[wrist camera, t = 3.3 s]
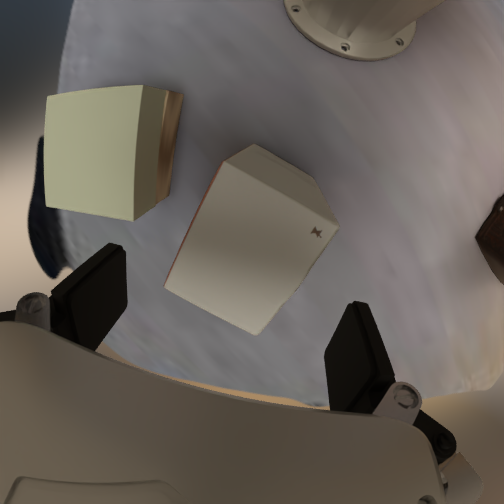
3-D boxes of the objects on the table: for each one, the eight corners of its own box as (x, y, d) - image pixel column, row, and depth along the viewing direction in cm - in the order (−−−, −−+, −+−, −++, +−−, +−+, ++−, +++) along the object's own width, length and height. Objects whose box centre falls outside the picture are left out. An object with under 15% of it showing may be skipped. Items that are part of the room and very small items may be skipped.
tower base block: (100, 93, 22) (77, 92, 19) (185, 95, 22) (168, 90, 19) (92, 181, 27) (70, 190, 23) (170, 194, 27) (153, 205, 23)
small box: (253, 142, 23) (223, 155, 12) (315, 177, 24) (345, 227, 12) (213, 216, 27) (160, 289, 15) (270, 247, 27) (259, 339, 16)
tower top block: (75, 96, 19) (47, 96, 15) (166, 90, 19) (143, 85, 15) (72, 194, 23) (46, 206, 20) (155, 206, 23) (133, 221, 19)
